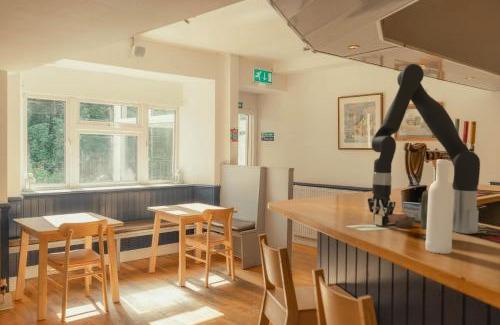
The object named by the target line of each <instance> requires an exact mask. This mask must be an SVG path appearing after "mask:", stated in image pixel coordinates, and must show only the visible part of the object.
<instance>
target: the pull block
mask: <svg viewBox="0 0 500 325" xmlns="http://www.w3.org/2000/svg"><path fill="white" fill-rule="evenodd" d="M382 216H383V215H382V213H379V214H375V218H374V217H373V224H376V226H377V227H385V226H395V222H396V220H403V219H406V214H404V213H402V212H398V211H393V213H392V215H389V223H387V225H382Z"/></svg>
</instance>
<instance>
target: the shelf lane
mask: <svg viewBox="0 0 500 325" xmlns="http://www.w3.org/2000/svg"><path fill="white" fill-rule="evenodd" d="M388 223H389V216H388ZM415 224H416V221H415V217H412V216H407V215H406V219H403V220H396V222H395V226H385V227H377V226H376V224H374V223H368V224H355V225H345V227H347V228H350V229H354V230H358V231H362V232H368V231H369V232H371V231H372V232H373V231H380V230H381V231H382V230H383V231H384V230H391V229H393V230H394V229H395V230H396V229H405V228H414V227H415V228H416V227H417V226H416V225H415Z"/></svg>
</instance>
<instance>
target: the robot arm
mask: <svg viewBox="0 0 500 325" xmlns="http://www.w3.org/2000/svg"><path fill="white" fill-rule="evenodd" d="M424 72H425V71H424V69H423V68H422V67H421V65H419V64H417V63H410V64H408V65H406V66H404V67H403V68H402V69H401V71H400V72H399V74H398V75H397V84H398V86H399V87H398V90H397V92H396V94H395V96H394V98H393V99H392V100H393V101H392V102H391V104H390V106H389V108H388V110H387V111H386V115H385V116H384V120H383V121H382V125H381V126H380V127H378V129H377V131H376V133H374V135H373V138H372V139H371V148H372V150H373V151H374V152H375V153H380V155H379V157H378V158H376V159H375V160H374V163H373V174H372V191H371V193H372V195H373V196H372V197H369V198H367V203H368V210H369V212H370V213H372V214H373V219H374V218H375V214H380V211H381V214H382V215H383V216H382V225H387V223H388V216H389V215H392V213H393V212H394V211H395V210H394V209H395V208H396V207H395V206H396V203H397V202H395V201H392V200H391V197H390V196H391V195H392V179H393V178H392V164H393V160H394V157H395V154H396V150H397V149H396V148H397V143H396V140H395V138H394V137H393V135H394V134H396V133H397V132H399V129H400V128H401V125H402V123H403V120H404V117H405V114H406V112H407V110H408V107H409V104H410V102H411V103H412V104H413V105H414V107H415V109H416V110H417V112H418V113H419V115H420V116H421V118H422V120H423V121H424V123H425V125H426V126H427V127H428V129H429V130H430V132H431V134H432V135H433V136H434V137H435V138H436V140H438V142H439V143H440V144H441V146H442V147H443V148H444V150H445V151H446V154H447V156H448V157H449V160H450V161H451V164H452V165H453V180H452V181H453V182H452V184H451V185H452V187H453V190H454V212H453V227H452V232H456V233H459V234H465V235H471V234H477V233H478V232H479V231H478V228H479V213H480V212H479V209H477V208H478V207H477V204H478V189H479V188H478V187H479V183H480V173H481V172H480V170H481V160H480V158H479V155H477V153H476V152H474V151H471V150H470V149H469V148H468V147H467V145H466V144H465V143H464V142H463V140H462V139H461V138H462V137H460V135H459V132H458V130H457V128H456V125H455V123H454V122H453V119H452V118H451V117H450V115H449V113H448V112H447V110H446V109H445V107H444V106H443V105H442V104H440V102H438V101H437V100H436V99H434V98H433V97H432V96H431V95H429V94H428V92H427V91H426V89H425V88H424V87H423V84H422V81H423V79H424V76H425V73H424Z"/></svg>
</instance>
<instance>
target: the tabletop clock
mask: <svg viewBox="0 0 500 325" xmlns="http://www.w3.org/2000/svg"><path fill="white" fill-rule="evenodd" d="M428 191H429V189H427V190H424V191H422V194H421V202H420V203H421V221H420V222H419V223H420V224H419V226H420V229H421V230H425V231H426V229H427V209H428ZM453 212H454V208H453ZM423 240H424V241H426V235H424V236H423Z"/></svg>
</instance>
